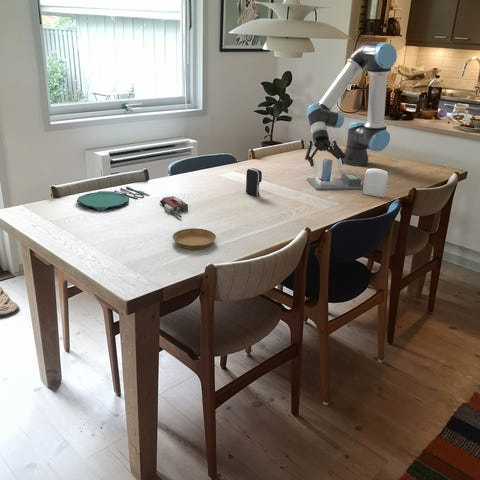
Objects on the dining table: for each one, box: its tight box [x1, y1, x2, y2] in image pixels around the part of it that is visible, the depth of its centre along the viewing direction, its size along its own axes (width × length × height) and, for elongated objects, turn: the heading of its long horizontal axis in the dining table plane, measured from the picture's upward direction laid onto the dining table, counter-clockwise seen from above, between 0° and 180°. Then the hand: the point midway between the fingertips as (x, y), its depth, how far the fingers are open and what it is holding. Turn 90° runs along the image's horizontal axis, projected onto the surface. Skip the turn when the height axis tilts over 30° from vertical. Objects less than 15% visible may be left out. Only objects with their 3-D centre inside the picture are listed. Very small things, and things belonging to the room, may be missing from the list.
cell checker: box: [306, 173, 364, 191], centre depth 240 cm, size 24×16×4 cm, turn 100°
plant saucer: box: [172, 227, 217, 250], centre depth 169 cm, size 15×15×3 cm
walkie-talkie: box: [159, 195, 189, 219], centre depth 197 cm, size 9×4×20 cm
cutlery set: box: [76, 186, 150, 212], centre depth 205 cm, size 20×30×2 cm, turn 143°
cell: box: [320, 158, 334, 182], centre depth 237 cm, size 4×4×12 cm
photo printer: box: [362, 167, 389, 198], centre depth 226 cm, size 10×4×12 cm, turn 63°
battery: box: [245, 167, 263, 197], centre depth 219 cm, size 7×4×11 cm, turn 42°
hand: (328, 171), depth 235 cm, fingers open, 13 cm apart
